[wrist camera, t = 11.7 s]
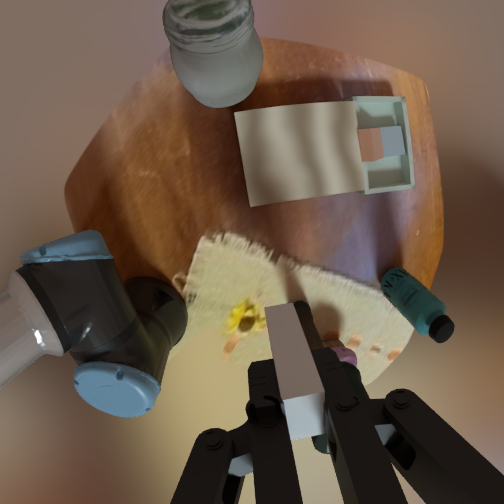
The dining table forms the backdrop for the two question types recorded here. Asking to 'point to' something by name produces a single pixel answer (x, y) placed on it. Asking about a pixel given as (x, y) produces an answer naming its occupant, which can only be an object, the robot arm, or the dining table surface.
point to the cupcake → (341, 351)
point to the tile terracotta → (371, 144)
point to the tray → (394, 167)
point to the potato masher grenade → (350, 369)
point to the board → (300, 151)
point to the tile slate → (392, 141)
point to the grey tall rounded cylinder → (214, 48)
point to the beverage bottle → (417, 304)
